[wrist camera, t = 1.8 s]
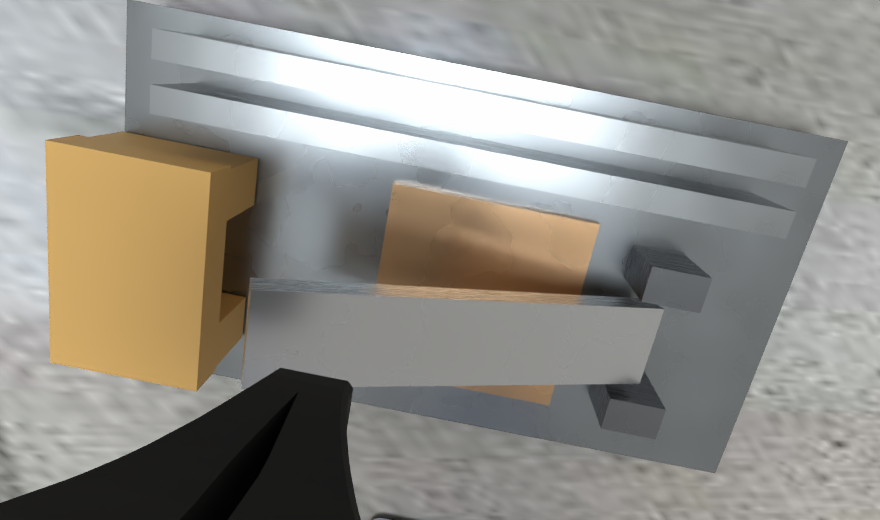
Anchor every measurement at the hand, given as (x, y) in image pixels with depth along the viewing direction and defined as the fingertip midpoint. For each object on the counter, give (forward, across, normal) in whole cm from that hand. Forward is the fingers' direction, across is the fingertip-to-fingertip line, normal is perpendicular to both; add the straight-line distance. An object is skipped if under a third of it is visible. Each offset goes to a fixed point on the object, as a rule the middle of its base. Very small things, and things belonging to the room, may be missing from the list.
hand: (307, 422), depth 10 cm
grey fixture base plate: (+10, -2, -1) cm, 10 cm away
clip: (+8, +6, 0) cm, 10 cm away
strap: (+5, -3, 0) cm, 6 cm away
